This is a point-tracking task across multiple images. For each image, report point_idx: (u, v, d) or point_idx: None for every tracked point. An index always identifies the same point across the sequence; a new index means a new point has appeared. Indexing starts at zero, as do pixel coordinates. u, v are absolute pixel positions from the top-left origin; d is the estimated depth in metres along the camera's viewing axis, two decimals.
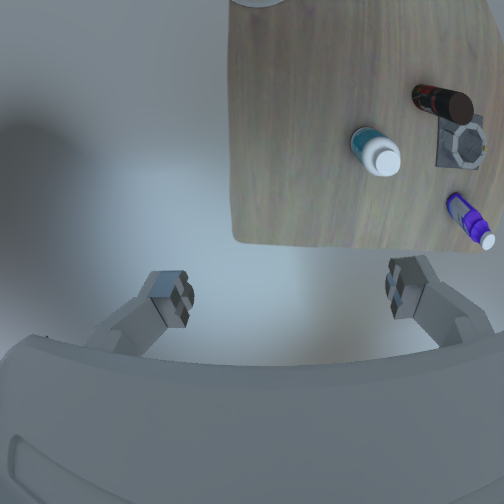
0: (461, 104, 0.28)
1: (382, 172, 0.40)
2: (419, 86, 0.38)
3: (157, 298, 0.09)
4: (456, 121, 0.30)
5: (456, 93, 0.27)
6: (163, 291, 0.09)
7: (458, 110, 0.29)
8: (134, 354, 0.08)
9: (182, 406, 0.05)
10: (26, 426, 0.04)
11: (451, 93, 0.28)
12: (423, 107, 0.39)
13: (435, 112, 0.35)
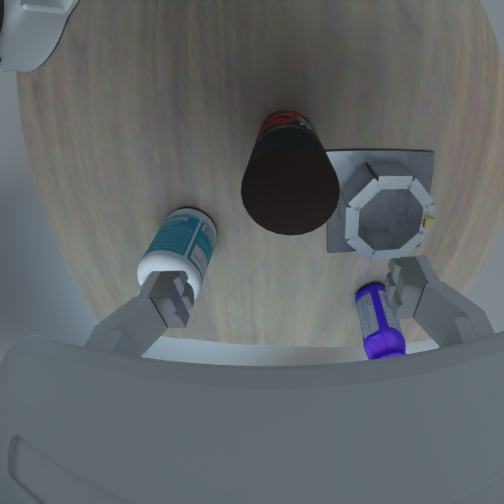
0: (288, 181, 0.15)
1: None
2: (268, 118, 0.25)
3: (157, 298, 0.09)
4: (275, 228, 0.17)
5: (266, 153, 0.14)
6: (163, 291, 0.09)
7: (277, 201, 0.16)
8: (134, 354, 0.08)
9: (182, 406, 0.05)
10: (26, 426, 0.04)
11: (256, 155, 0.15)
12: None
13: None
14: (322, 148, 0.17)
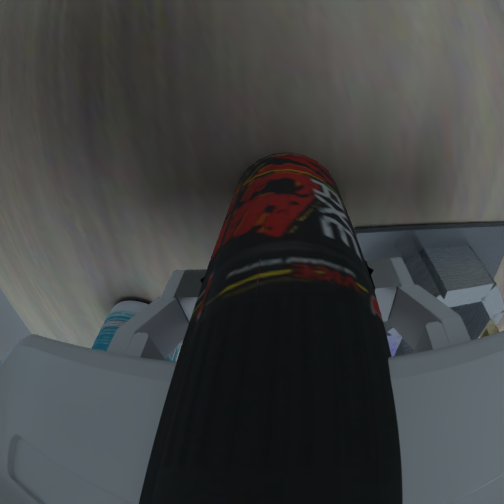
0: None
1: None
2: (249, 174, 0.13)
3: (184, 298, 0.09)
4: None
5: None
6: (190, 291, 0.09)
7: None
8: (160, 357, 0.08)
9: None
10: (26, 426, 0.04)
11: (156, 490, 0.03)
12: None
13: None
14: (392, 389, 0.04)
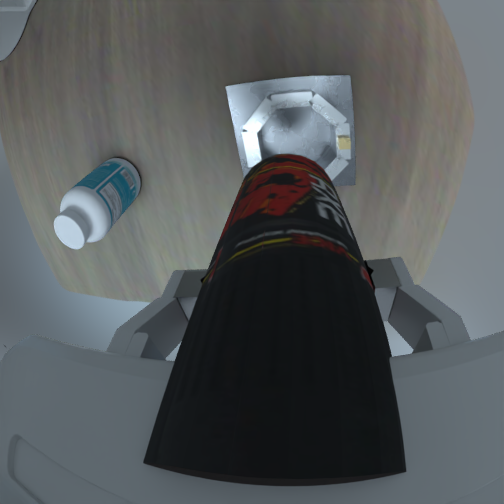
0: None
1: (69, 245, 0.26)
2: (253, 171, 0.14)
3: (184, 298, 0.09)
4: None
5: (188, 464, 0.03)
6: (190, 291, 0.09)
7: None
8: (160, 357, 0.08)
9: None
10: (26, 426, 0.04)
11: (167, 426, 0.04)
12: None
13: None
14: (383, 338, 0.05)
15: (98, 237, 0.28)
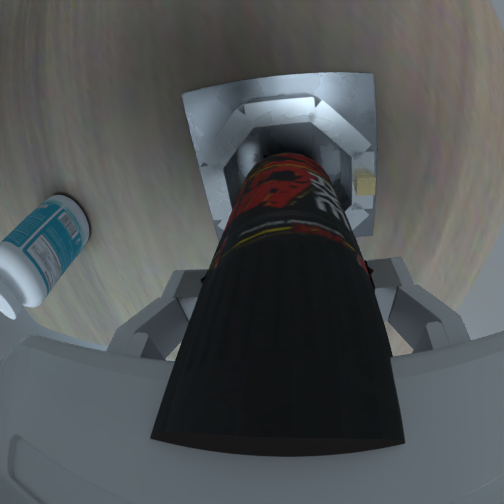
0: None
1: (4, 313, 0.17)
2: (255, 169, 0.15)
3: (184, 298, 0.09)
4: None
5: (196, 430, 0.04)
6: (190, 291, 0.09)
7: None
8: (160, 357, 0.08)
9: None
10: (26, 426, 0.04)
11: (175, 396, 0.04)
12: None
13: None
14: (378, 318, 0.06)
15: (35, 305, 0.19)
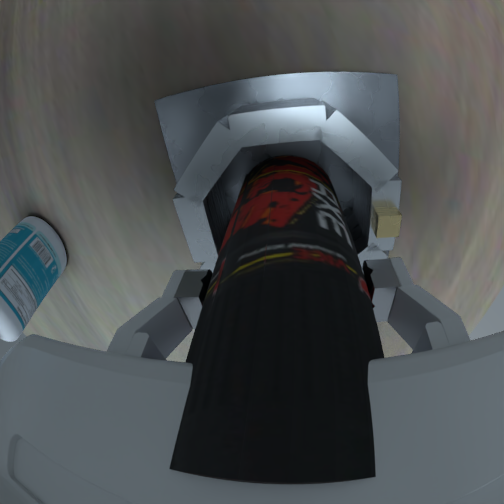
0: None
1: None
2: (253, 174, 0.14)
3: (184, 298, 0.09)
4: None
5: (202, 470, 0.03)
6: (190, 291, 0.09)
7: None
8: (160, 357, 0.08)
9: (182, 406, 0.05)
10: (26, 426, 0.04)
11: (181, 435, 0.04)
12: None
13: None
14: (377, 351, 0.06)
15: (11, 340, 0.15)
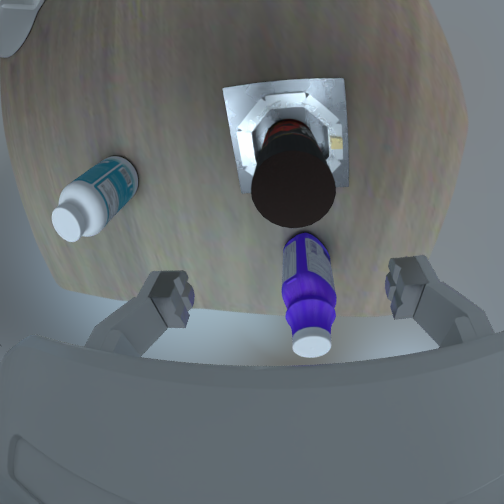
0: (291, 180, 0.18)
1: (65, 237, 0.26)
2: (273, 125, 0.28)
3: (157, 298, 0.09)
4: (279, 221, 0.20)
5: (273, 156, 0.17)
6: (163, 291, 0.09)
7: (281, 197, 0.19)
8: (134, 354, 0.08)
9: (182, 406, 0.05)
10: (26, 426, 0.04)
11: (264, 157, 0.18)
12: None
13: None
14: (321, 153, 0.19)
15: (94, 232, 0.28)
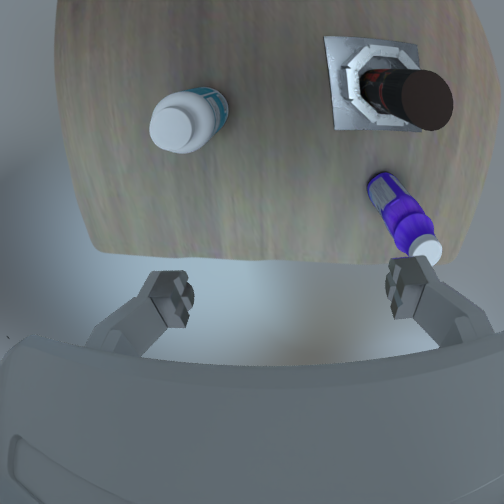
0: (428, 92, 0.17)
1: (164, 146, 0.25)
2: (368, 71, 0.27)
3: (157, 298, 0.09)
4: (418, 123, 0.19)
5: (417, 72, 0.16)
6: (163, 291, 0.09)
7: (421, 103, 0.17)
8: (134, 354, 0.08)
9: (182, 406, 0.05)
10: (26, 426, 0.04)
11: (407, 73, 0.17)
12: (372, 103, 0.27)
13: (387, 109, 0.24)
14: None
15: (197, 145, 0.27)
